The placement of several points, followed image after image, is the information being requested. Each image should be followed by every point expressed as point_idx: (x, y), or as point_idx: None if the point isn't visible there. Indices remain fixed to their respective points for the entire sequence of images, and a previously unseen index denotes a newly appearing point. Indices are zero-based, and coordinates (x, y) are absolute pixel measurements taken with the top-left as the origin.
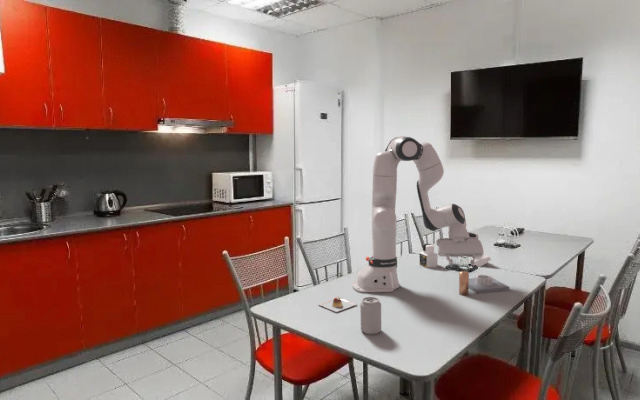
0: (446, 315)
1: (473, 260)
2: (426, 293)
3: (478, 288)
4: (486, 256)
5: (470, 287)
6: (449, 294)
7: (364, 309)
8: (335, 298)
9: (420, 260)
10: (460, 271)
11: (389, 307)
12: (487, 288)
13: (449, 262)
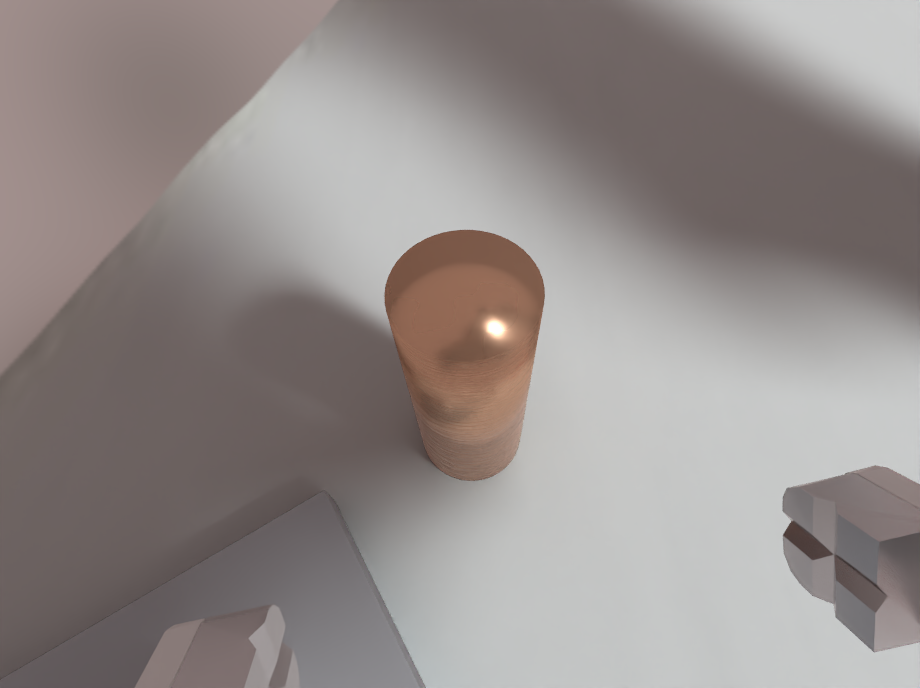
0: (548, 47)
1: (155, 680)
2: (829, 344)
3: (296, 551)
4: None
5: (394, 629)
6: (608, 380)
7: None
8: None
9: None
10: (527, 315)
11: (917, 49)
12: (181, 588)
13: (885, 486)
